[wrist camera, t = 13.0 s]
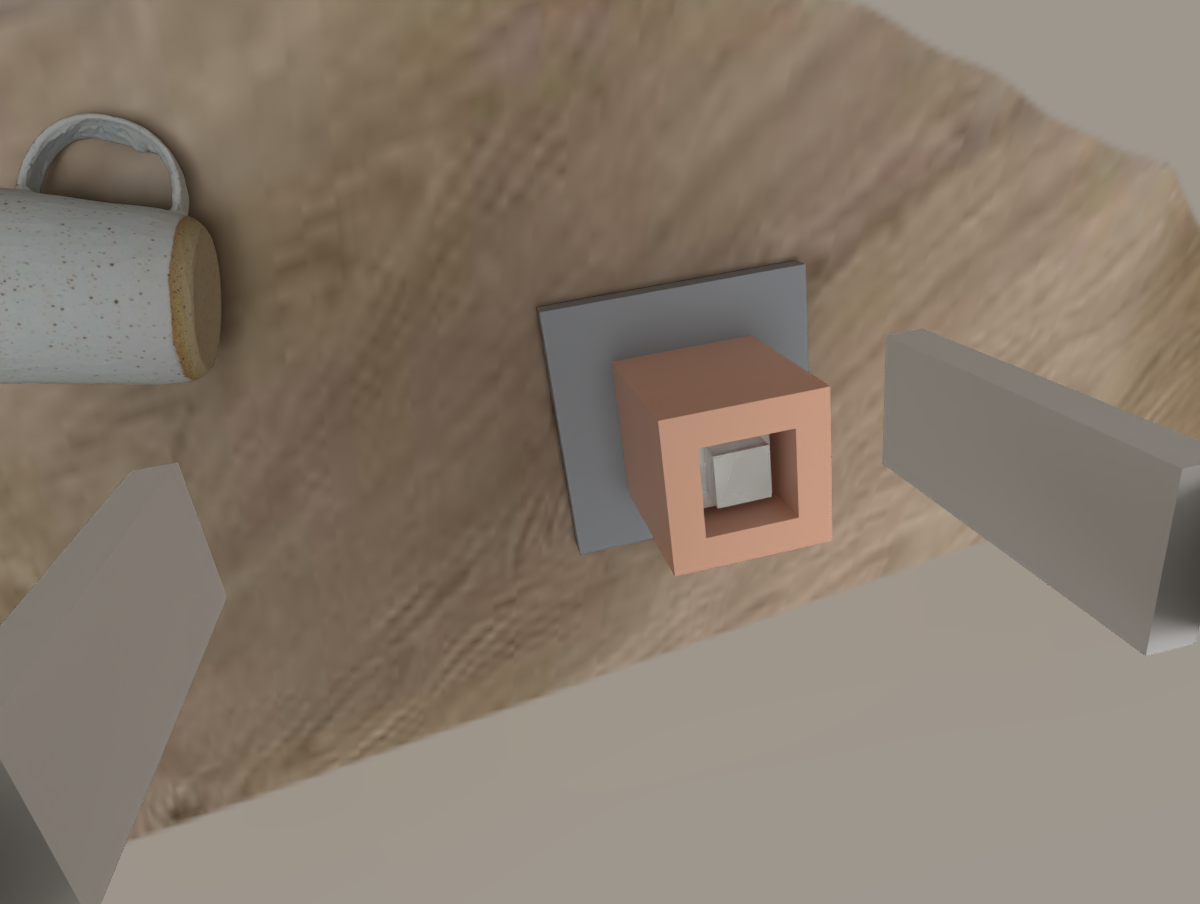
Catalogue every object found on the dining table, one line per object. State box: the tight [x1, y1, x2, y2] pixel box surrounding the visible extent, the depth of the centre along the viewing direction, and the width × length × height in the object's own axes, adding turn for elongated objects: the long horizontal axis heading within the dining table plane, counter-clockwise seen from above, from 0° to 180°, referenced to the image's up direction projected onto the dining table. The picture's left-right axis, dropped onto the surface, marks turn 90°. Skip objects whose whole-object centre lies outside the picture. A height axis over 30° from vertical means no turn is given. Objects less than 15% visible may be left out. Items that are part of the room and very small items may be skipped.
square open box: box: [612, 335, 832, 576], centre depth 39 cm, size 8×8×9 cm
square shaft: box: [698, 434, 772, 509], centre depth 39 cm, size 4×4×8 cm
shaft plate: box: [537, 260, 809, 555], centre depth 43 cm, size 14×14×1 cm
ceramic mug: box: [0, 113, 222, 384], centre depth 32 cm, size 11×8×8 cm
